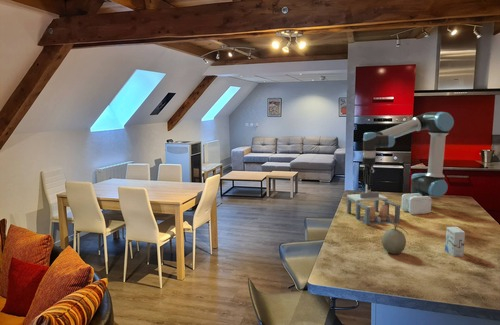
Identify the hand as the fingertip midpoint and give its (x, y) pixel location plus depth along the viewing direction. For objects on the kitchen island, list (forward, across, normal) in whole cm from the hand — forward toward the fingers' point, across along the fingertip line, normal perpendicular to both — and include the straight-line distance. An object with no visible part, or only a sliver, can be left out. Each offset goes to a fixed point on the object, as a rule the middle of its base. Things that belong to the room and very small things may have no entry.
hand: (367, 194), depth 244 cm
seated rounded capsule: (+13, +12, -4) cm, 19 cm away
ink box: (+14, +67, +10) cm, 69 cm away
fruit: (+14, +61, -17) cm, 65 cm away
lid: (+3, -1, 0) cm, 3 cm away
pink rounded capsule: (+13, +12, +4) cm, 19 cm away
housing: (+14, +6, 0) cm, 15 cm away
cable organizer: (+14, -1, +34) cm, 37 cm away
